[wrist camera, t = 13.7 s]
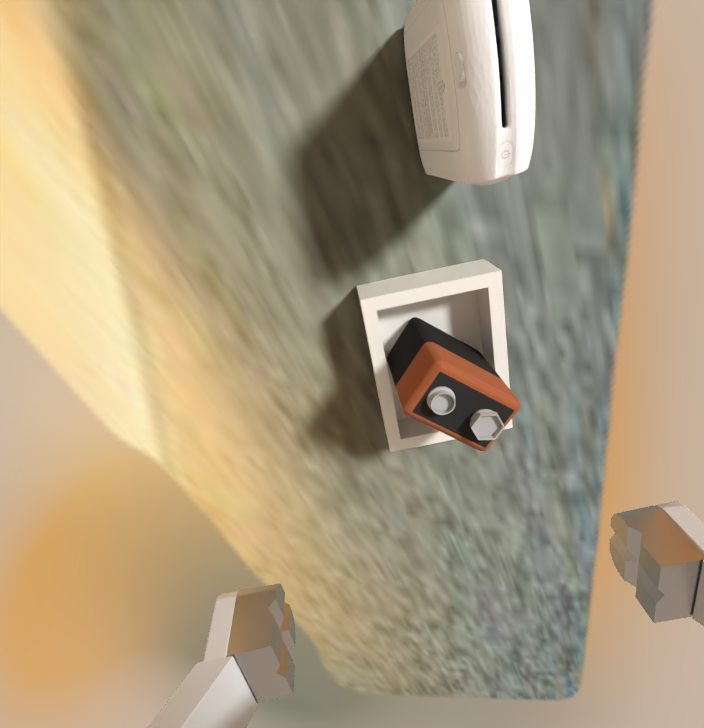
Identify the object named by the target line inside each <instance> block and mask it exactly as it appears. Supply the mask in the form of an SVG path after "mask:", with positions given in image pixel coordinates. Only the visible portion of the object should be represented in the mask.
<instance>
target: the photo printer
mask: <svg viewBox="0 0 704 728" xmlns="http://www.w3.org/2000/svg"><path fill="white" fill-rule="evenodd" d="M404 47H405V57H406V65H407V73H408V80H409V88H410V95H411V103H412V109H413V116H414V123H415V129H416V135H417V141H418V147H419V152H420V157H421V161H422V164H423V167H424V170H425V172H426V174H428V175H432V176H436V177H440V178H444V179H448V180H452V181H456V182H459V183H471V184H475V185H481V186H484V185H490V184H494V183H497V182H501V181H504V180H506V179H508V178H510V177H511V176H512V175H515V174H518V173H521V172H523V171H525V170H526V169H528V167H529V163H530V159H531V154H532V148H533V141H534V128H535V67H534V51H533V36H532V26H531V16H530V7H529V0H417V2H416V3H415V5H414V6H413V8H412V9H411V11H410V12H409V13H408V15H407V16H406V18H405V23H404Z"/></svg>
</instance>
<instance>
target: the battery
mask: <svg viewBox="0 0 704 728" xmlns="http://www.w3.org/2000/svg"><path fill="white" fill-rule="evenodd" d="M387 362H388V365H389V368H390V371H391V374H392V378H393V381H394V384H395V387H396V390H397V393H398V397H399V400H400V403H401V406H402V409H403V412H404V413H405V414H406V415H408V416H409V417H411V418H413V419H415V420H417V421H420V422H422V423H424V424H426V425H428V426H430V427H432V428H434V429H436V430H438V431H440V432H442V433H444V434H446V435H448V436H450V437H453V438H455V439H457V440H459V441H461V442H463V443H465V444H467V445H469V446H471V447H473V448H475V449H477V450H480V451H486V450H487V449H488V448H489V447H490V446H491V444H492V443H493V442H494V440H496V438H497V437H498V436H499V434H500V433H501V432H502V431H503V429H504V428H505V426H506V425H507V424H508V423H509V421H510V420H511V419H512V418H513V416H514V415H515V414H516V412H517V411H518V410H519V408H520V402H519V400H518V399H517V398H516V396H515V395H514V394H513V393H512V391H511V390H510V389H509V388H508V386H507V385H506V384H505V383H504V381H503V380H502V379H501V378H500V376H499V375H498V374H497V373H496V371H495V370H494V369H493V368H492V366H491V365H490V364H489V363H488V361H487V360H486V359H485V358H484V356H483V355H482V354H481V353H480V352H479V351H478V350H476V349H474V348H473V347H471V346H469V345H467V344H465V343H464V342H462V341H460V340H458V339H456V338H454V337H453V336H451V335H449V334H447V333H445V332H444V331H442V330H440V329H438V328H436V327H434V326H433V325H431V324H429V323H427V322H425V321H423V320H422V319H420V318H417V317H413V318H411V319H410V321H409V322H408V324H407V326H406V327H405V329H404V330H403V332H402V333H401V335H400V336H399V338H398V340H397V341H396V343H395V344H394V346H393V347H392V349H391V351H390V352H389V354H388V355H387Z"/></svg>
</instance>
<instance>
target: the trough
mask: <svg viewBox="0 0 704 728" xmlns="http://www.w3.org/2000/svg"><path fill="white" fill-rule="evenodd" d="M357 291H358V297H359V302H360V307H361V312H362V317H363V322H364V327H365V332H366V337H367V342H368V347H369V352H370V357H371V362H372V367H373V372H374V377H375V382H376V387H377V392H378V397H379V402H380V407H381V412H382V417H383V422H384V427H385V431H386V435H387V440H388V444H389V448H390V452H394V451H399V450H404V449H409V448H414V447H419V446H424V445H429V444H434V443H439V442H444V441H449V440H454V439H455V438H453V437H450V436H448V435H446V434H444V433H442V432H440V431H438V430H436V429H434V428H432V427H430V426H428V425H426V424H424V423H422V422H420V421H417V420H415V419H413V418H411V417H409V416H408V415H406V414H405V413H404V412H403V409H402V406H401V403H400V400H399V397H398V393H397V390H396V387H395V384H394V381H393V378H392V374H391V371H390V368H389V365H388V362H387V355H388V354H389V352H390V351H391V349H392V347H393V346H394V344H395V343H396V341H397V340H398V338H399V336H400V335H401V333H402V332H403V330H404V329H405V327H406V326H407V324H408V322H409V321H410V319H411V318H413V317H417V318H420V319H422V320H423V321H425V322H427V323H429V324H431V325H433V326H434V327H436V328H438V329H440V330H442V331H444V332H445V333H447V334H449V335H451V336H453V337H454V338H456V339H458V340H460V341H462V342H464V343H465V344H467V345H469V346H471V347H473V348H474V349H476V350H478V351H479V352H480V353H481V354H482V355H483V356H484V358H485V359H486V360H487V361H488V363H489V364H490V365H491V366H492V368H493V369H494V370H495V371H496V373H497V374H498V375H499V376H500V378H501V379H502V380H503V381H504V383H505V384H506V385H507V386H508V388H509V389H510V386H509V372H508V357H507V343H506V329H505V315H504V300H503V286H502V272H501V270H500V269H498V268H497V267H495V266H494V265H492V264H491V263H489V262H488V261H486V260H485V259H480V260H476V261H471V262H466V263H461V264H457V265H452V266H447V267H442V268H438V269H433V270H428V271H424V272H419V273H414V274H409V275H405V276H400V277H395V278H390V279H386V280H381V281H376V282H371V283H367V284H362V285H357ZM509 428H512V419H511V420H510V421H509V423H508V424H507V425H506V426H505V428H504V429H509ZM504 429H503V430H504Z"/></svg>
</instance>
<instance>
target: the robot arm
mask: <svg viewBox="0 0 704 728" xmlns="http://www.w3.org/2000/svg"><path fill="white" fill-rule="evenodd" d="M611 527H612V528H613V530H614V531H615V534H614V535H613V536H612V538H611V539H610V552H611V556H612V560H613V562H614V564H615V566H616V568H617V570H618V572H619V573H620V575H621V576H622V578H623V579H624V580H625V581H627V582H628V583H630V584H632V585H634V586H636V598H637V599H638V601H639V602H640V604H641V605H642V607H643V608H644V609H645V611H646V612H647V614H648V615H649V617H650V618H651V619H652V621H653V622H654V623H656V622H662V621H667V620H674V619H680V618H686V617H692V616H693V617H692V618H693V619H694V620H696V621H697V622H698V623H700V624H701V625H703V626H704V524H703V523H702V522H701V521H700V520H699V519H698V518H697V517H696V516H695V515H694V514H693V513H692V512H691V511H690V510H689V509H688V508H687V507H686V506H685V505H684V504H683V503H680V502H678V501H675V502H670V503H665V504H661V505H656V506H649V507H645V508H640V509H636V510H631V511H626V512H622V513H617V514H614V515H613V516H612V518H611ZM284 597H285V592H284V590H283V588H282V586H281V584H275V585H269V586H264V587H258V588H253V589H246V590H241V591H236V592H231V593H226V594H220V595H219V596H218V598H217V600H216V602H215V606H214V611H213V616H212V620H211V625H210V630H209V635H208V640H207V644H206V649H205V654H204V659H203V662H199V663H196V665H195V666H194V667H193V669H192V670H191V671H190V672H189V674H188V675H187V676H186V678H185V679H184V681H183V682H182V683H181V684H180V686H179V687H178V688H177V689H176V691H175V692H174V694H173V695H172V696H171V697H170V699H169V700H168V701H167V703H166V704H165V705H164V707H163V708H162V709H161V711H160V712H159V713H158V714H157V716H156V717H155V718H154V720H153V721H152V723H151V724H150V725H149V726H148V728H247V726H248V724H249V722H250V720H251V718H252V716H253V714H254V712H255V710H256V709H257V707H258V704H257V703H260V702H265V701H269V700H273V699H278V698H282V697H286V696H290V695H293V692H294V691H293V690H294V667H295V665H294V663H293V660H292V658H291V655H290V654H291V652H292V651H293V649H294V647H295V624H294V618H293V614H292V610H291V608H290V605H289V604H287V603H285V602H284Z"/></svg>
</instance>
